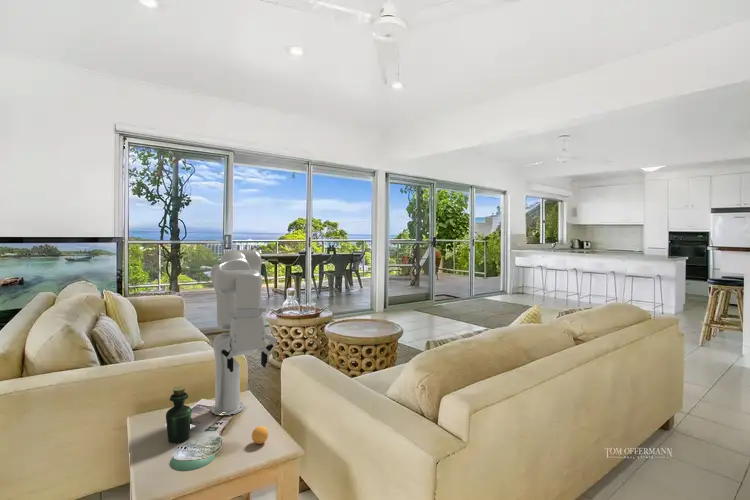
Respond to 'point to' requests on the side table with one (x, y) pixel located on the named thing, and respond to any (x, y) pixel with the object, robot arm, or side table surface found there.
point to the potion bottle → (178, 417)
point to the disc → (190, 463)
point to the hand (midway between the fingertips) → (247, 368)
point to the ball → (259, 434)
